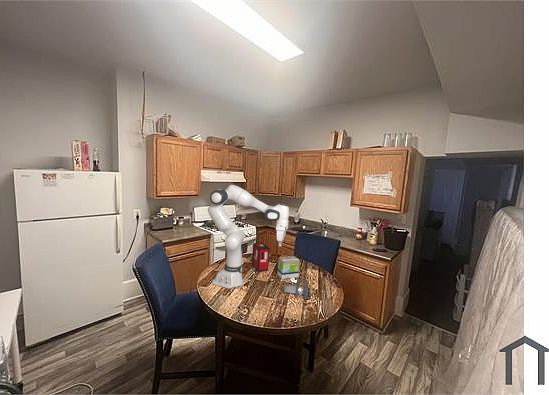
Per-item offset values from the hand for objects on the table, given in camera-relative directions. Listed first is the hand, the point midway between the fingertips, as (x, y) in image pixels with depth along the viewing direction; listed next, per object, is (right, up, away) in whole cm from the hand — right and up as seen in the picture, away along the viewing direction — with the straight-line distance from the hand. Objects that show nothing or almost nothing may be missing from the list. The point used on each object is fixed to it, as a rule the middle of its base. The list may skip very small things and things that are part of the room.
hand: (281, 244), depth 165 cm
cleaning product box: (-18, -27, +31) cm, 45 cm away
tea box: (+6, -30, +18) cm, 36 cm away
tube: (+11, -33, -8) cm, 35 cm away
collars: (+15, -33, -9) cm, 38 cm away
